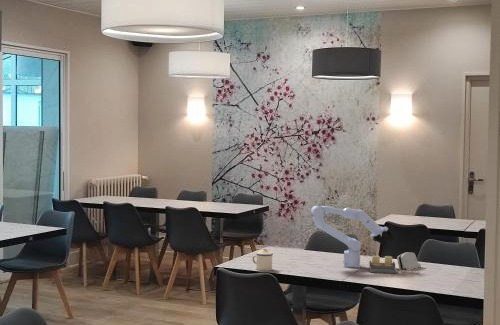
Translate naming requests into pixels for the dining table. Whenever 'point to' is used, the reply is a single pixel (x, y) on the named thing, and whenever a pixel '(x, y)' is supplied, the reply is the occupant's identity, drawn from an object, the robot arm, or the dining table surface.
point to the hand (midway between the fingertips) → (389, 242)
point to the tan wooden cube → (388, 260)
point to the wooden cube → (375, 259)
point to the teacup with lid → (263, 260)
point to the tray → (382, 269)
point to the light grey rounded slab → (408, 261)
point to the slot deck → (382, 264)
